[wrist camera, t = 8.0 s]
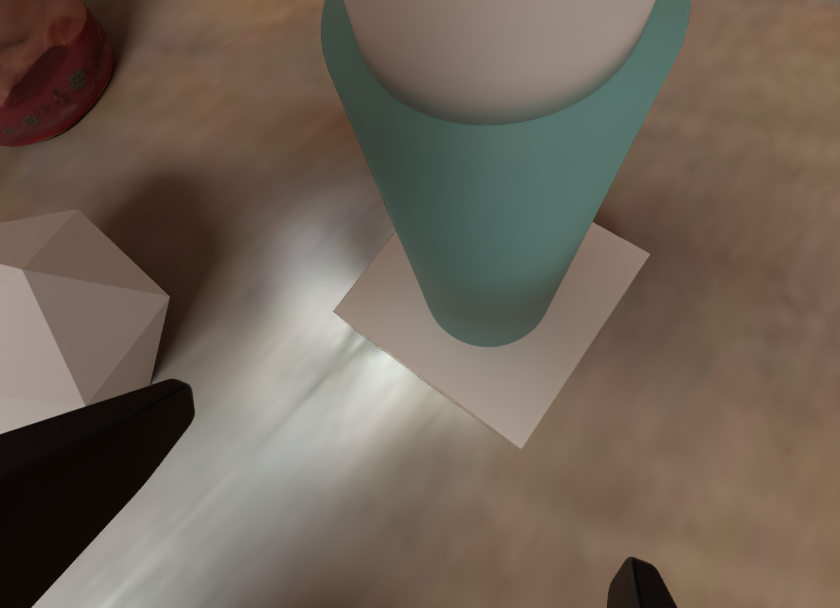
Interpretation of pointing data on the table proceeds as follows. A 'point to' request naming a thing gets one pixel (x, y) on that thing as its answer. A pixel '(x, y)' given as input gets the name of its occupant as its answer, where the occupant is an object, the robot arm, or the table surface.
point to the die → (71, 318)
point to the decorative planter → (48, 67)
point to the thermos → (496, 135)
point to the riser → (503, 365)
